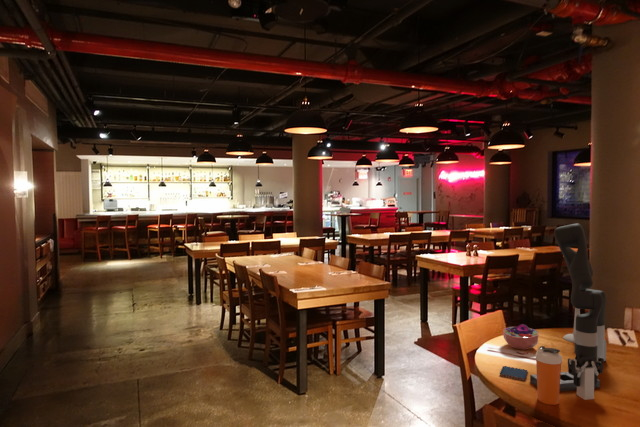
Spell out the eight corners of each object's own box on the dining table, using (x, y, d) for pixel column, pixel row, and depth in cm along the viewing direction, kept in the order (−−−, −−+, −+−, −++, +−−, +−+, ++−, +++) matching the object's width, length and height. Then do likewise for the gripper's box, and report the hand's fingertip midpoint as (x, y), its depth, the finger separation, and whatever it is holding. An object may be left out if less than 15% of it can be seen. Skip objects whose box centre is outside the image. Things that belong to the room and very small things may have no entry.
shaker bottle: (560, 408, 158) (561, 354, 157) (533, 402, 162) (534, 350, 162) (562, 398, 165) (562, 347, 164) (536, 393, 170) (536, 343, 169)
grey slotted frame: (580, 377, 184) (581, 370, 184) (599, 387, 174) (599, 380, 174) (530, 381, 180) (530, 374, 180) (546, 392, 170) (546, 385, 170)
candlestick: (590, 338, 235) (591, 283, 234) (591, 345, 224) (592, 287, 223) (563, 334, 241) (564, 281, 240) (563, 341, 230) (563, 285, 229)
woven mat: (526, 382, 180) (526, 378, 180) (499, 377, 186) (499, 373, 186) (528, 374, 189) (528, 369, 189) (502, 369, 195) (502, 364, 195)
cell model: (495, 348, 221) (495, 326, 220) (512, 339, 234) (512, 318, 234) (529, 356, 208) (529, 333, 208) (545, 347, 222) (546, 325, 221)
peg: (585, 394, 169) (586, 363, 168) (593, 398, 165) (594, 367, 164) (576, 395, 168) (577, 364, 168) (584, 399, 164) (585, 368, 164)
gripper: (594, 338, 171) (594, 379, 171) (562, 340, 168) (561, 382, 169) (610, 344, 163) (609, 387, 164) (576, 346, 161) (576, 390, 161)
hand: (585, 384), depth 166 cm, fingers open, 6 cm apart
